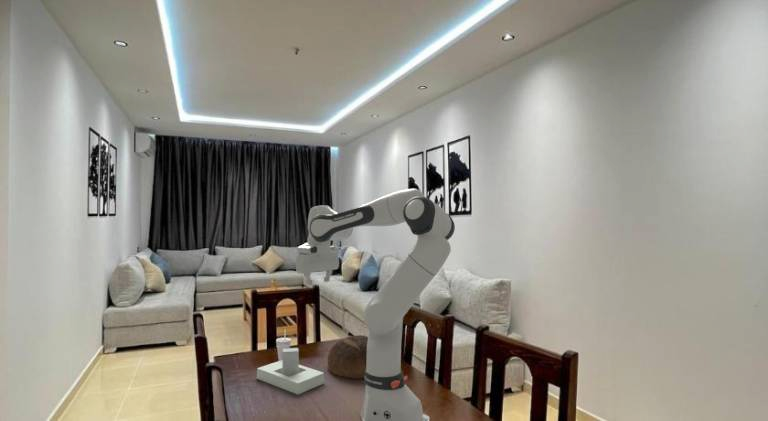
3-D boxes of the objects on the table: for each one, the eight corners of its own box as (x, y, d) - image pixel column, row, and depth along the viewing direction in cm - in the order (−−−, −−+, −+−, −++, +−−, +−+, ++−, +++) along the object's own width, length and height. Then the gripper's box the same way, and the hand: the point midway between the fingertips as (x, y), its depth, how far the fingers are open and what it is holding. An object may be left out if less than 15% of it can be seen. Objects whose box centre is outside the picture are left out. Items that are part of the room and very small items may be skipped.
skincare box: (297, 378, 170) (298, 347, 170) (298, 382, 166) (299, 351, 166) (281, 379, 169) (282, 348, 169) (282, 384, 164) (282, 352, 164)
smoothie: (287, 365, 184) (287, 332, 184) (272, 364, 185) (273, 330, 185) (293, 360, 190) (293, 328, 190) (279, 359, 192) (280, 326, 192)
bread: (371, 354, 200) (371, 325, 200) (403, 374, 177) (403, 341, 177) (317, 363, 187) (318, 333, 187) (345, 386, 164) (345, 351, 164)
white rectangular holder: (323, 383, 166) (324, 372, 166) (297, 394, 155) (298, 383, 155) (283, 369, 180) (283, 359, 180) (256, 378, 169) (257, 368, 169)
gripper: (331, 245, 180) (330, 279, 180) (293, 248, 164) (292, 285, 164) (343, 246, 177) (342, 280, 177) (305, 249, 160) (304, 287, 160)
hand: (318, 283), depth 170 cm, fingers open, 8 cm apart
